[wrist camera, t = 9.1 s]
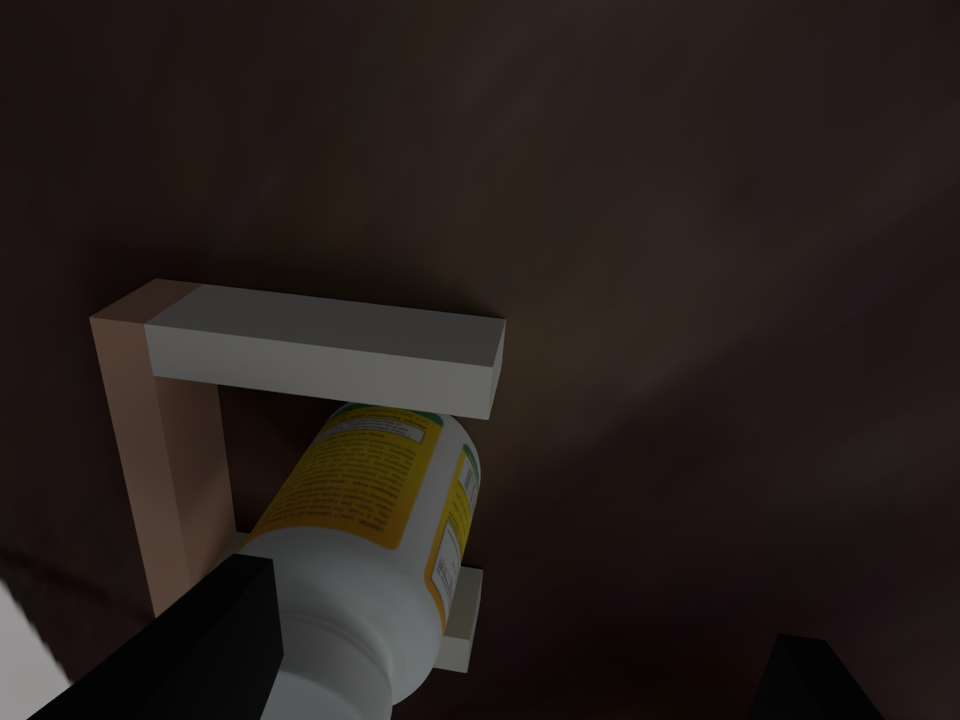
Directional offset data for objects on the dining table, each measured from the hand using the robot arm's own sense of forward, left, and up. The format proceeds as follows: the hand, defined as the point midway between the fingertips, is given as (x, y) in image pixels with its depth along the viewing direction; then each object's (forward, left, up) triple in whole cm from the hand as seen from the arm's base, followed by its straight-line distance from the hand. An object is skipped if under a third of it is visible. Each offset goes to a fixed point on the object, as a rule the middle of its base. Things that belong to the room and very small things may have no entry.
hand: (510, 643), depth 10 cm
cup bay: (-5, +6, -10) cm, 13 cm away
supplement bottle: (-5, +4, -11) cm, 12 cm away
